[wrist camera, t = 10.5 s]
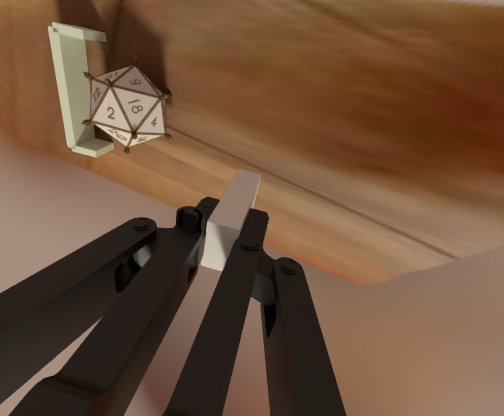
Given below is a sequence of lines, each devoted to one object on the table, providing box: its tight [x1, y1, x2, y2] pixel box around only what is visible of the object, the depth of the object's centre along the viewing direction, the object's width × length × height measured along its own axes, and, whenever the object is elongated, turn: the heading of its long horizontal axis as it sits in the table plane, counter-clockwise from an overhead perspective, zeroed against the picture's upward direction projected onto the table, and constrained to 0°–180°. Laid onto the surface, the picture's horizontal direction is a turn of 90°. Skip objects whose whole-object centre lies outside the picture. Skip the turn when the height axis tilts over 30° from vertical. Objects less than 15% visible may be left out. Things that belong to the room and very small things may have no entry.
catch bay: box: [48, 22, 114, 157], centre depth 29 cm, size 4×13×4 cm, turn 168°
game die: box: [81, 55, 172, 155], centre depth 27 cm, size 9×8×10 cm
